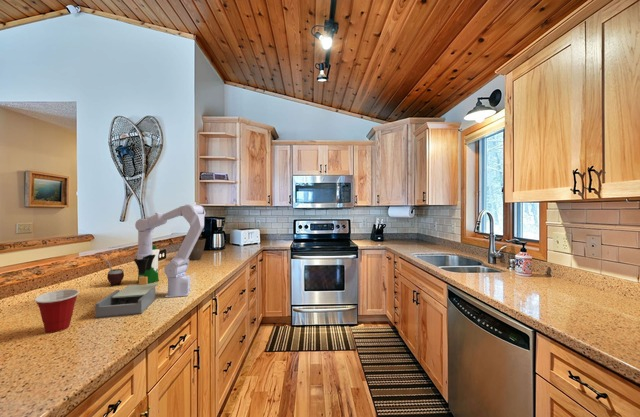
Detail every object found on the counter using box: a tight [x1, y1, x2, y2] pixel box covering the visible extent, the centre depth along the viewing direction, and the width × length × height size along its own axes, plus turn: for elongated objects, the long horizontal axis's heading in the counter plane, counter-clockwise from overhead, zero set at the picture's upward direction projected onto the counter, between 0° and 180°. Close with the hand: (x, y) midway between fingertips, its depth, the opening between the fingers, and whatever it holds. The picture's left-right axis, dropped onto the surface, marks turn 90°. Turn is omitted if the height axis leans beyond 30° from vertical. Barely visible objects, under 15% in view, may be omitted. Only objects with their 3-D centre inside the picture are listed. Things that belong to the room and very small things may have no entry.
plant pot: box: [188, 238, 207, 261], centre depth 210 cm, size 15×15×16 cm
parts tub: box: [94, 287, 156, 319], centre depth 108 cm, size 15×17×5 cm
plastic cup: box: [34, 288, 80, 334], centre depth 89 cm, size 11×11×12 cm
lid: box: [112, 277, 159, 298], centre depth 117 cm, size 12×17×4 cm
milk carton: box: [136, 244, 160, 284], centre depth 146 cm, size 9×9×20 cm
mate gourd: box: [101, 258, 125, 288], centre depth 139 cm, size 8×8×15 cm
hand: (145, 271), depth 127 cm, fingers open, 7 cm apart
